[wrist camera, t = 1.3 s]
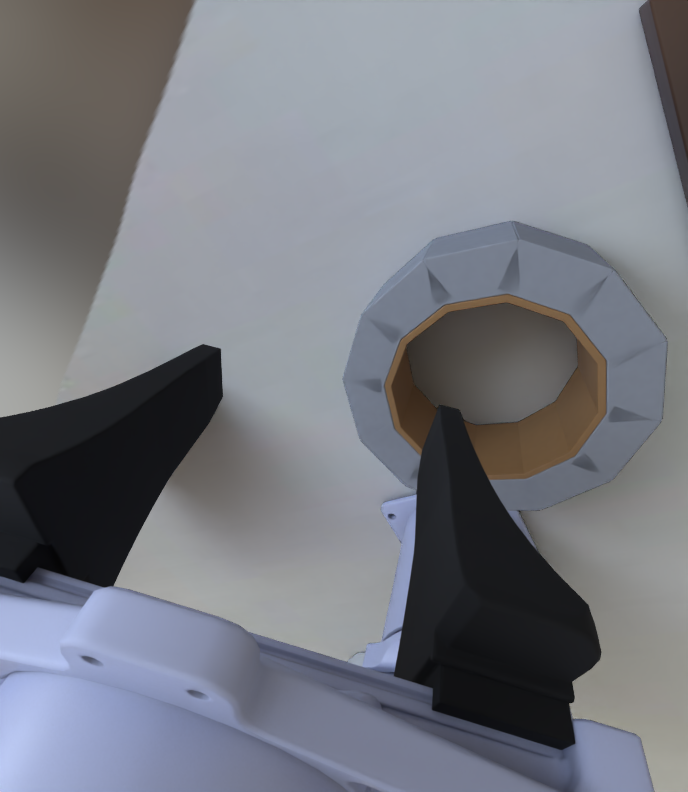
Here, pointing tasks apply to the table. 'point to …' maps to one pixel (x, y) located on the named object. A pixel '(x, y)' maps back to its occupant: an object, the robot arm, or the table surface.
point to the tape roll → (547, 428)
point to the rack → (671, 69)
